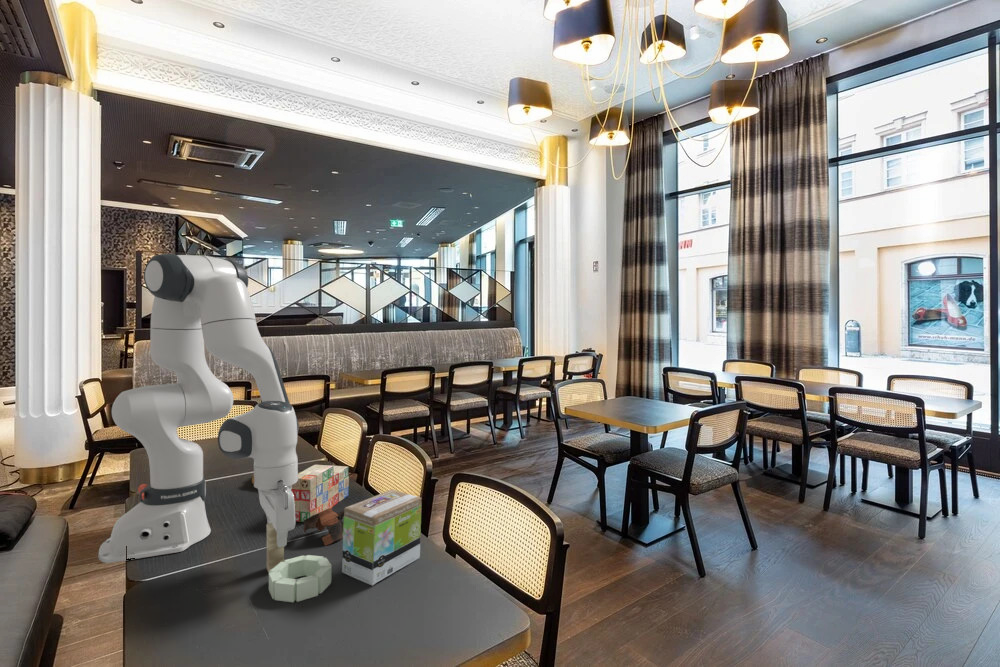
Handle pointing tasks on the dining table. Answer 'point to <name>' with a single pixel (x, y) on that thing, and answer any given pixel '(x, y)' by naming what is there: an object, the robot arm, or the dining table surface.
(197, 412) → the robot arm
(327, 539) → the pottery mug
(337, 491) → the stack of blocks
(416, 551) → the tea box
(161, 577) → the dining table surface
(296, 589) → the sage ring
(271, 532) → the wooden block
